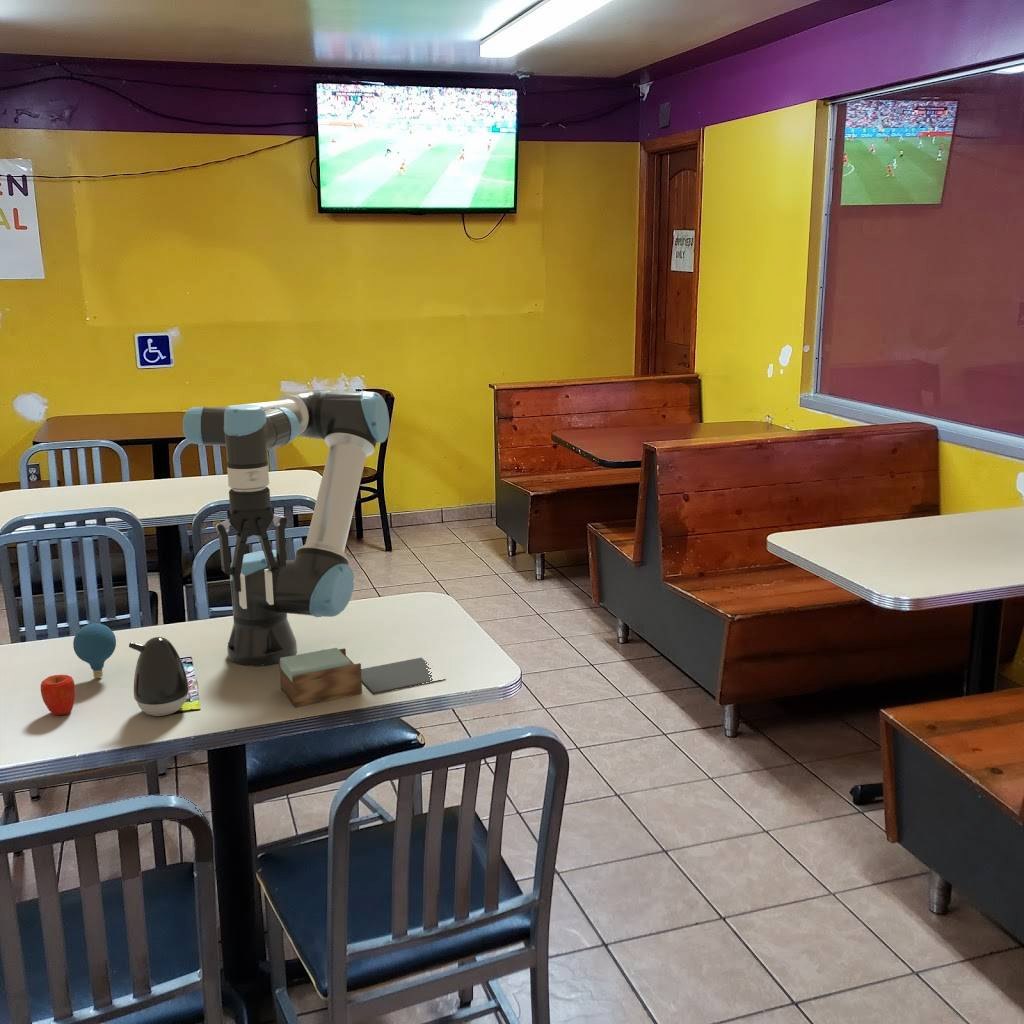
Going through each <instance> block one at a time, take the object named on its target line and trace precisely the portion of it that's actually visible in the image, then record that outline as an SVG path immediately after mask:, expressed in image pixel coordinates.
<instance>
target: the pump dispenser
mask: <svg viewBox="0 0 1024 1024" xmlns="http://www.w3.org/2000/svg"><path fill="white" fill-rule="evenodd" d="M128 648H130V649H133V650H135V651H137V652H139V656H138V657H137V661H136V665H135V671H134V676H133V699H134V700H135V702H136V703H137V705H138V707H139V709H141V711H142V712H144V713H145V714H147V715H150V716H154V717H165V716H168V715H171V714H174V713H176V712H177V711H179V710H180V709H181V708H182V707H183V706H184V704H185V703H186V700H187V696H188V694H189V691H190V689H189V687H190V686H189V681H188V676H187V673H186V669H185V666H184V663H183V661H182V659H181V656H180V655H179V652H178V651H177V649H176V647H175V646H174V645H173V644H172V642H171V641H170V640H169V639H167V638H166V637H164V636H154V637H151V638H149V639H148V640H147V641H145V644H141V643H137V642H133V641H130V642H129V643H128Z"/></svg>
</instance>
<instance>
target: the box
mask: <svg viewBox="0 0 1024 1024" xmlns="http://www.w3.org/2000/svg"><path fill="white" fill-rule="evenodd" d="M338 649H339V650H340V651H341V652H342V653H343V654H344V655H345V656H346V657H347V658H348V659H349V660H350V665H348V666H343V667H337V668H332V669H327V670H321V671H316V672H311V673H306V674H300V675H295V676H292V681H293V682H292V681H291V680H290V679H289V678H288V676H287V675H286V674H285V673H284V671H283V670H282V669H281V665H280V660H279V662H278V664H279V679H280V682H279V683H280V690H281V691H282V693H283V694H284V695H285V696H286V698H287V699H288V700H289V702H290V703H291V704H292V706H293V707H294V708H298V707H303V706H308V705H313V704H318V703H322V702H327V701H333V700H338V699H342V698H347V697H352V696H357V695H362V694H363V683H362V678H361V669H362V663H355V662H353V661H352V660H351V659H350V658H349V657H348V656H347V652H346V651H347V649H346V648H338Z"/></svg>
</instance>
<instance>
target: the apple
mask: <svg viewBox="0 0 1024 1024" xmlns="http://www.w3.org/2000/svg"><path fill="white" fill-rule="evenodd" d="M40 683H41V684H40V694H41V697H42V701H43V703H44V704H45V707H46V708H47V709H48V711H49V712H50V713H51V714H53V715H55V716H63V715H67V714H69V713H71V712H72V710H73V709H74V702H75V697H76V696H75V695H76V684H75V681H74V678H73V677H72V676H71V675H68V674H54V675H50V676H48V677H46V678H44V679H43V680H42V681H41V682H40Z"/></svg>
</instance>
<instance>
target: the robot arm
mask: <svg viewBox="0 0 1024 1024" xmlns="http://www.w3.org/2000/svg"><path fill="white" fill-rule="evenodd" d="M182 432H183V435H184V437H185V439H186V440H187V441H188V442H189V443H191V444H194V445H201V446H225V451H226V453H225V454H226V465H227V466H226V467H227V468H226V469H227V471H226V472H227V483H228V485H227V486H228V487H229V488H230V489H229V491H228V496H229V499H228V500H229V515H228V516H227V519H225V520H223V521H221V522H216V523H215V524H214V529H216V531H217V533H218V541H219V551H220V552H219V553H220V566H221V570H222V572H223V573H224V574H225V575H226V576H227V575H229V582H230V590H231V604H232V605H231V606H232V615H233V618H232V619H233V624H232V628H231V631H230V637H229V639H228V643H227V649H226V650H227V658H228V660H229V661H231V662H232V663H234V664H238V665H241V666H242V665H243V666H252V667H253V666H268V665H273V664H277V663H278V664H279V660H280V658H282V657H288V656H293V655H297V652H298V648H297V647H298V646H297V645H298V644H297V639H296V636H295V634H294V632H293V629H292V626H291V625H290V622H289V620H288V614H293V615H299V616H300V615H301V616H311V617H315V618H322V617H326V618H332V617H336V616H338V615H340V614H341V613H342V612H343V611H344V610H345V609H346V607H348V605H349V603H350V601H351V598H352V596H353V591H354V588H355V582H354V580H355V574H354V571H353V568H352V567H351V566H350V565H349V562H350V561H349V558H348V557H347V555H346V554H345V550H346V546H347V541H348V537H349V532H350V528H351V524H352V520H353V515H354V511H355V507H356V502H357V497H358V493H359V488H360V484H361V480H362V476H363V472H364V467H365V465H366V461H367V460H366V459H367V458H368V457H370V456H372V455H373V454H375V449H376V446H377V443H378V444H382V443H385V442H386V440H387V439H388V437H389V432H390V415H389V410H388V406H387V403H386V401H385V399H384V398H383V396H382V395H381V394H380V393H378V392H375V391H365V390H363V389H362V390H361V391H360V390H359V391H358V390H357V391H353V390H333V389H332V390H331V389H330V390H329V389H315V390H310V391H306V392H305V391H304V392H300V393H293V394H287V395H283V396H280V397H278V398H277V399H276V400H273V401H264V402H254V403H253V402H252V403H243V404H235V405H225V406H216V407H215V406H214V407H212V406H211V407H209V406H207V407H206V406H204V405H203V406H200V407H199V406H197V407H196V406H193V407H191V408H189V409H187V410H186V412H185V414H184V415H183V419H182ZM297 437H299V438H300V437H301V438H309V439H316V440H324V443H325V445H326V446H327V447H328V449H329V450H328V452H327V457H326V460H325V464H324V469H323V473H322V477H321V481H320V485H319V488H318V493H317V497H316V501H315V505H314V509H313V513H312V517H311V521H310V524H309V528H308V529H309V530H308V532H307V533H308V534H307V536H306V540H305V544H304V545H302V546H299V547H298V548H297V549H296V553H295V556H294V559H290V560H289V559H287V555H286V534H285V531H286V526H287V523H288V518H287V517H285V516H284V515H282V514H279V515H277V514H274V512H273V510H272V507H271V491H270V488H269V487H268V486H269V485H270V477H269V476H270V475H269V466H268V465H269V462H268V451H271V450H274V449H277V448H282V447H284V446H286V445H288V444H290V443H291V442H293V441H294V440H295V439H296V438H297ZM272 522H273V525H274V526H275V528H274V532H275V535H274V536H275V549H272V546H271V543H270V540H269V535H268V532H267V530H268V528H269V526H270V524H271V523H272ZM230 526H231V527H233V528H234V530H235V531H236V536H235V537H236V539H235V540H236V541H235V547H234V553H233V558H232V561H231V557H230V553H231V552H230V545H229V544H230V543H229V541H230V540H229V536H228V533H229V532H230ZM252 536H257V537H258V539H259V542H260V545H261V548H262V549H261V550H259V551H254V552H249V553H245V550H246V544H247V542H248V538H250V537H252Z"/></svg>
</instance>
